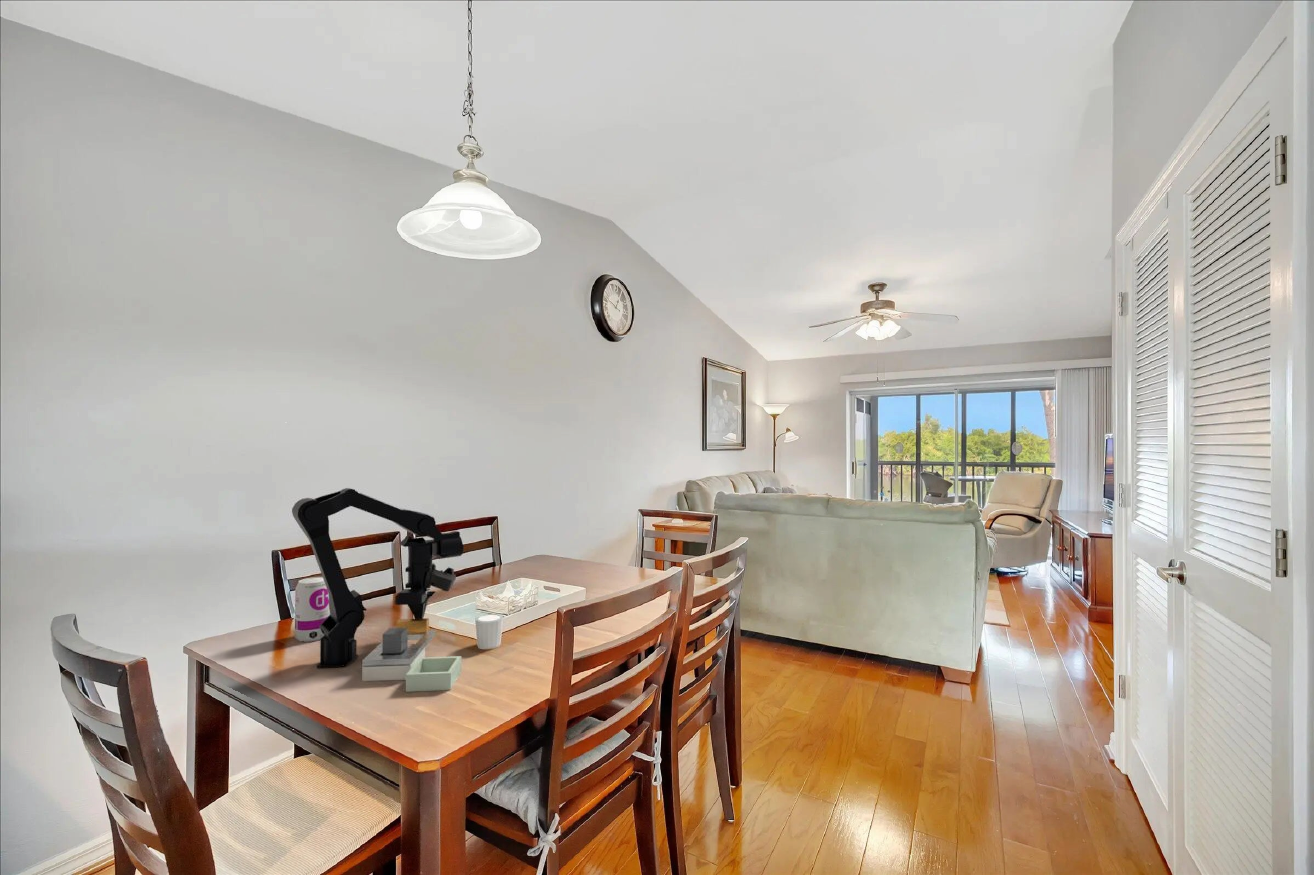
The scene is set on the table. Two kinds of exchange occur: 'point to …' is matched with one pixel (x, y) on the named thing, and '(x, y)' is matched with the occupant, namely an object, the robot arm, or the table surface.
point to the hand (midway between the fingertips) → (419, 622)
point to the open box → (433, 673)
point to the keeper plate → (415, 631)
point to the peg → (395, 641)
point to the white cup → (489, 630)
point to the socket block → (388, 670)
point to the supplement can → (310, 608)
